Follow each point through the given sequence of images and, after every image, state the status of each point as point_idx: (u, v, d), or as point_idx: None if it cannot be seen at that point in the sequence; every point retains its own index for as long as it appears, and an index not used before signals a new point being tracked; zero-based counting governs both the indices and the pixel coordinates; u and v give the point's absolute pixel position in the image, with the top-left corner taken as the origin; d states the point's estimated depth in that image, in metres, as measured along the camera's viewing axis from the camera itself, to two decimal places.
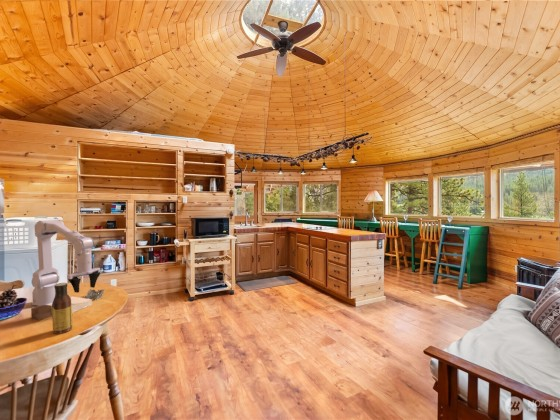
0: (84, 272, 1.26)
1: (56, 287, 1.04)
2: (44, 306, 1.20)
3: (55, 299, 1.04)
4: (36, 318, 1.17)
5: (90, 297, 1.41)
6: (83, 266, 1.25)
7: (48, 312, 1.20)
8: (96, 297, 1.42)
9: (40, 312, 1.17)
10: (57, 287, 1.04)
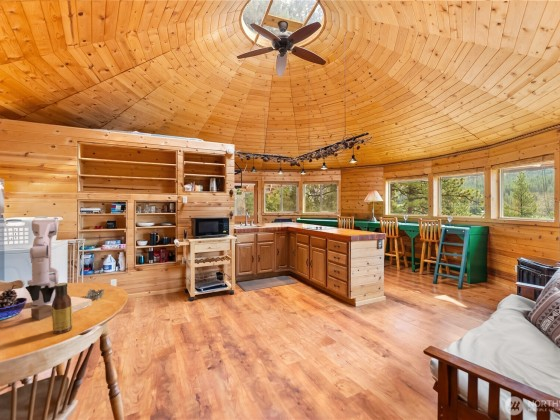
0: (31, 282, 1.17)
1: (56, 287, 1.04)
2: (44, 306, 1.20)
3: (55, 299, 1.04)
4: (36, 318, 1.17)
5: (91, 297, 1.41)
6: None
7: (48, 312, 1.20)
8: (97, 297, 1.42)
9: (40, 312, 1.17)
10: (57, 287, 1.04)
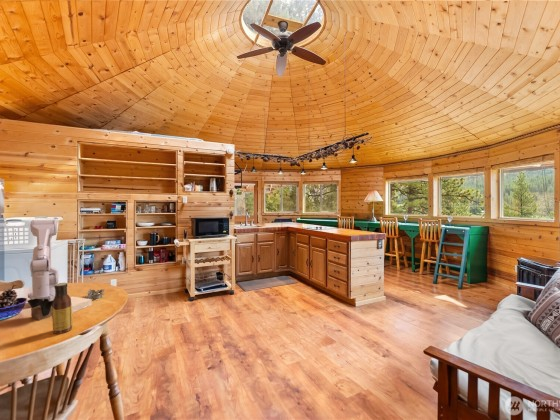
0: (32, 296, 1.18)
1: (56, 287, 1.04)
2: None
3: (55, 299, 1.04)
4: (36, 318, 1.17)
5: (91, 297, 1.41)
6: None
7: None
8: (97, 297, 1.42)
9: (40, 312, 1.17)
10: (57, 287, 1.04)
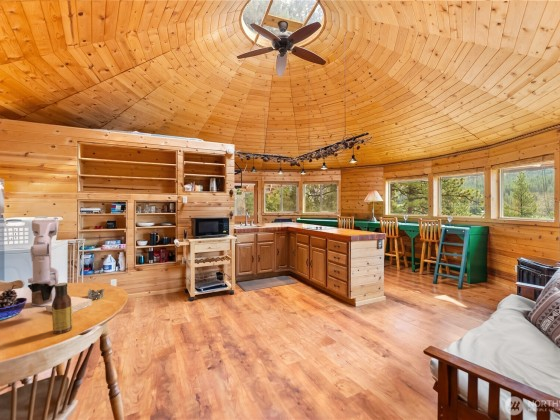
0: (32, 280, 1.18)
1: (56, 287, 1.04)
2: None
3: (55, 299, 1.04)
4: (36, 302, 1.17)
5: (92, 297, 1.41)
6: None
7: None
8: (98, 296, 1.42)
9: (40, 297, 1.17)
10: (57, 287, 1.04)
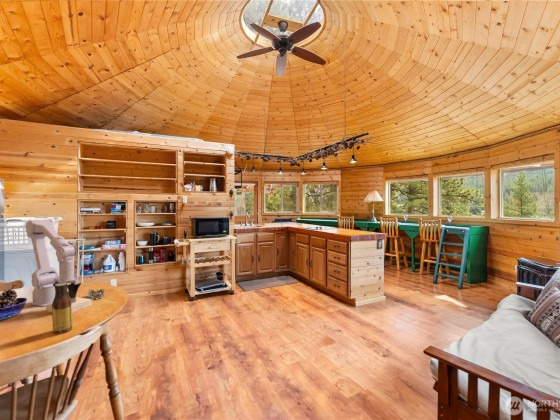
0: (59, 279, 1.27)
1: (56, 287, 1.04)
2: None
3: (55, 299, 1.04)
4: None
5: (94, 297, 1.41)
6: None
7: (73, 298, 1.30)
8: (100, 296, 1.43)
9: None
10: (57, 287, 1.04)
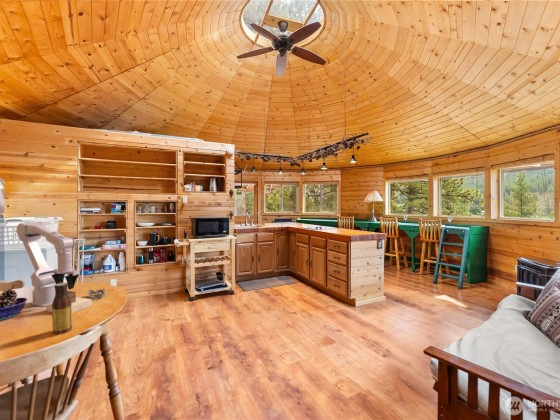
0: (57, 271, 1.30)
1: (56, 287, 1.04)
2: (69, 292, 1.30)
3: (55, 299, 1.04)
4: None
5: (95, 296, 1.42)
6: None
7: (73, 298, 1.30)
8: (101, 296, 1.43)
9: None
10: (57, 287, 1.04)
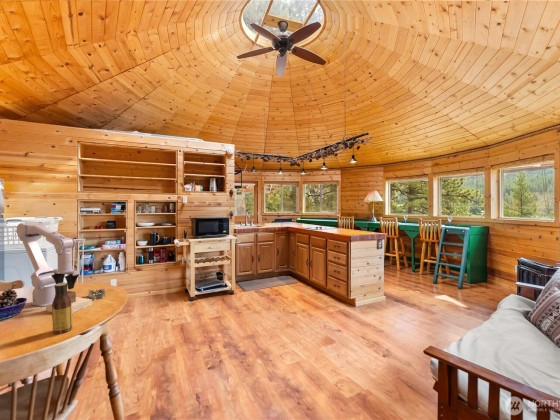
0: (57, 271, 1.30)
1: (56, 287, 1.04)
2: (69, 292, 1.30)
3: (55, 299, 1.04)
4: None
5: (95, 296, 1.42)
6: None
7: (73, 298, 1.30)
8: (102, 296, 1.43)
9: None
10: (57, 287, 1.04)
